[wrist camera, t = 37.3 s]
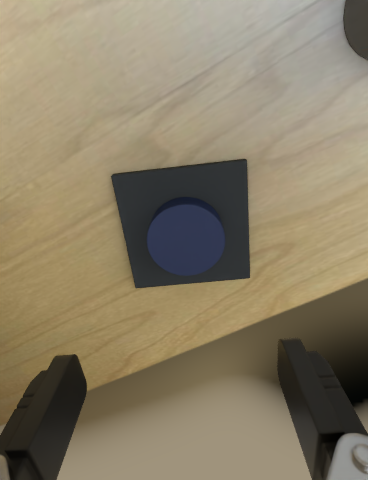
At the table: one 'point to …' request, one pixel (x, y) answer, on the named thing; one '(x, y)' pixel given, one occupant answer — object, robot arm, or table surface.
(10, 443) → the robot arm
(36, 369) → the table surface
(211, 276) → the coaster
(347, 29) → the bottle
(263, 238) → the table surface
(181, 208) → the jar lid
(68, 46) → the table surface
